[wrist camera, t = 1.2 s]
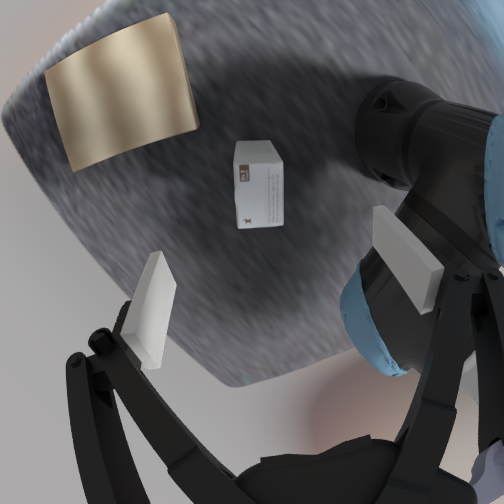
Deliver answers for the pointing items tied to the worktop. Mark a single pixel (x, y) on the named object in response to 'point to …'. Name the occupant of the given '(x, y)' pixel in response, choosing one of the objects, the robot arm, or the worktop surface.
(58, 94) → the base block
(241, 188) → the skincare box
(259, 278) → the worktop surface
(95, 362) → the robot arm
